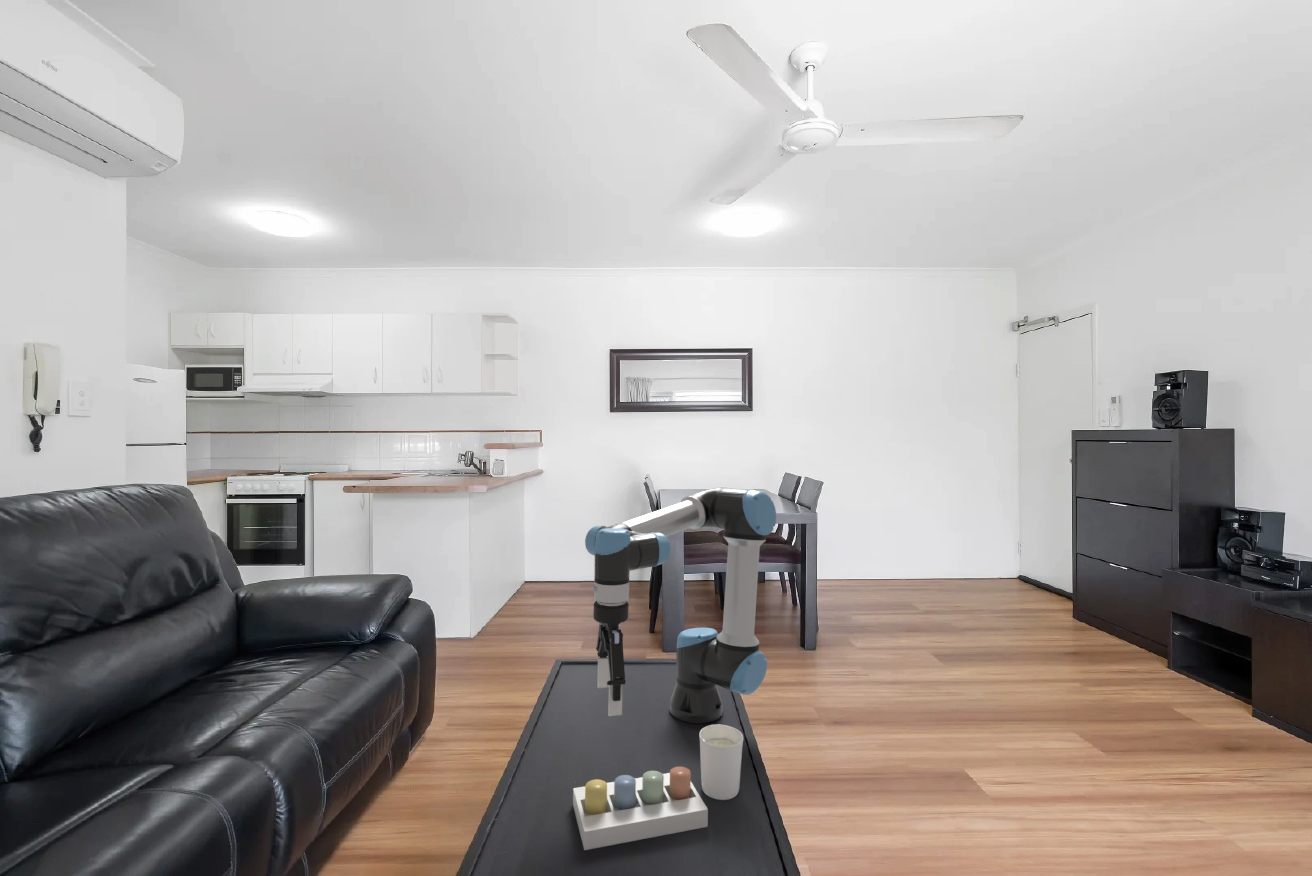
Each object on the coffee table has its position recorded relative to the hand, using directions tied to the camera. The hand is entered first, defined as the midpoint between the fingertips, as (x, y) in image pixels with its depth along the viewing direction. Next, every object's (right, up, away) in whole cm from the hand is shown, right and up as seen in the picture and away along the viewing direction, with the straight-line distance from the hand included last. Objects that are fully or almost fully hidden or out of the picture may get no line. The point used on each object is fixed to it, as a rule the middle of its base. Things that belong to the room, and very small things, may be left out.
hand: (608, 700), depth 122 cm
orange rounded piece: (+15, -19, -2) cm, 24 cm away
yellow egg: (-2, -18, -7) cm, 20 cm away
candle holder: (+24, -22, +5) cm, 33 cm away
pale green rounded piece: (+9, -19, -4) cm, 21 cm away
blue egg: (+4, -19, -6) cm, 20 cm away
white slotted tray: (+6, -22, -5) cm, 23 cm away
